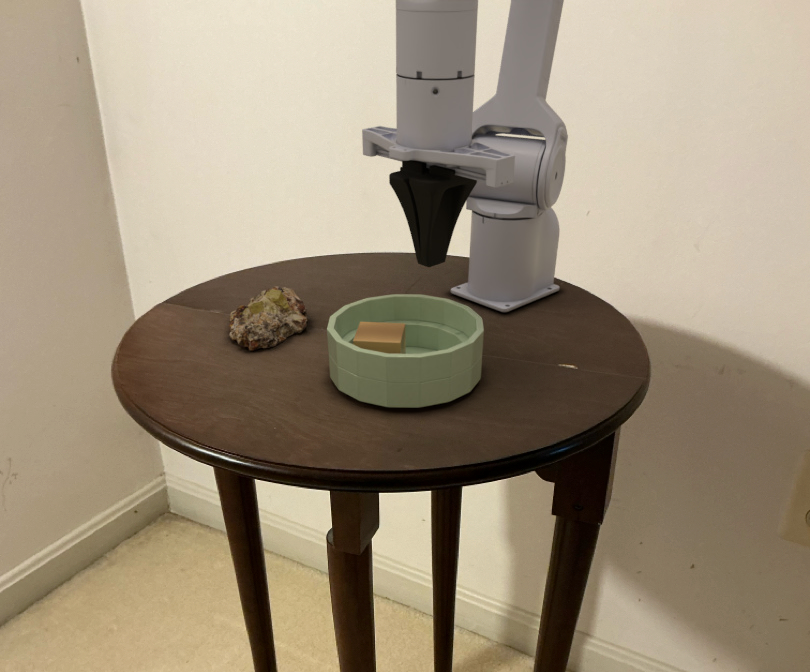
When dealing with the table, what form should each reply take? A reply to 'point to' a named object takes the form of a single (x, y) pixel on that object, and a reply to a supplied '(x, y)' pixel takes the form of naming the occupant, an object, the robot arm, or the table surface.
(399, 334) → the block
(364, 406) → the table surface
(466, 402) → the table surface
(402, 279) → the table surface
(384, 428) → the table surface
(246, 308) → the mineral rock
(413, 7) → the robot arm
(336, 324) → the bowl
